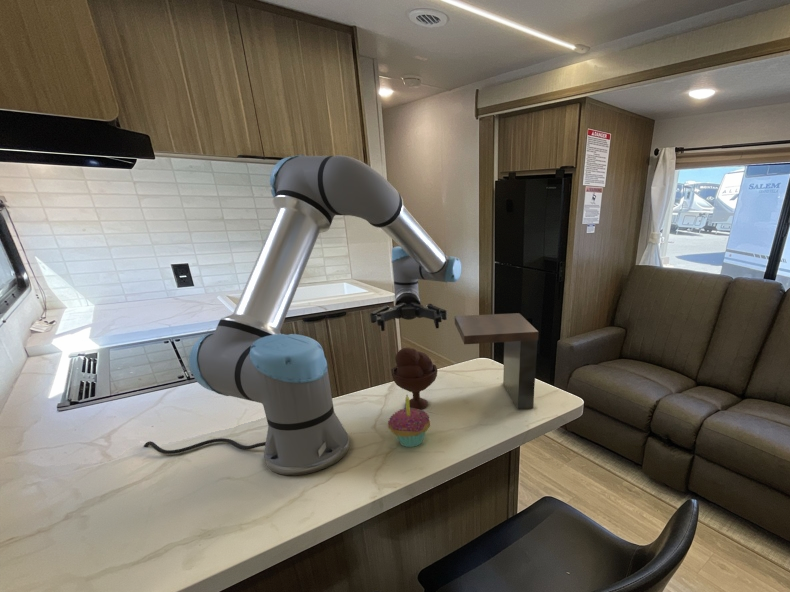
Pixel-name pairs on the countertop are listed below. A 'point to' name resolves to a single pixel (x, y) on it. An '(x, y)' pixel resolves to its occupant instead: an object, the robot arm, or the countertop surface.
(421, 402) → the ice cream bowl
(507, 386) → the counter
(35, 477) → the countertop surface
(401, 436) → the cupcake
